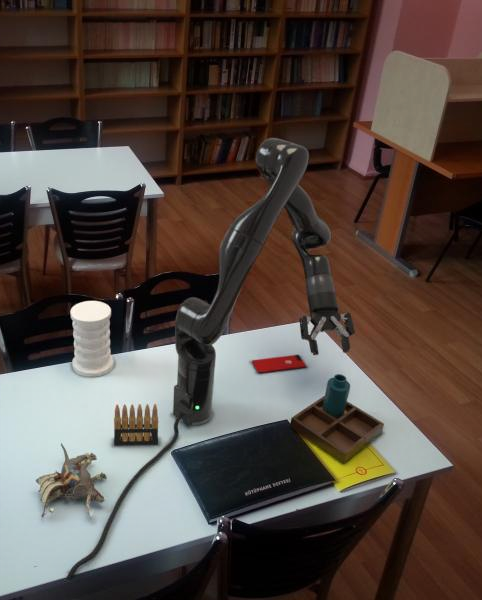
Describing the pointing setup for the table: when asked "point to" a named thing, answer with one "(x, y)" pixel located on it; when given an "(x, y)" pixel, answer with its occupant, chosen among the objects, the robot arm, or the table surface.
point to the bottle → (336, 396)
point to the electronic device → (278, 363)
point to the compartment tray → (337, 429)
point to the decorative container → (91, 338)
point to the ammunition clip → (135, 427)
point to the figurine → (71, 482)
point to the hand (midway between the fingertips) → (331, 353)
